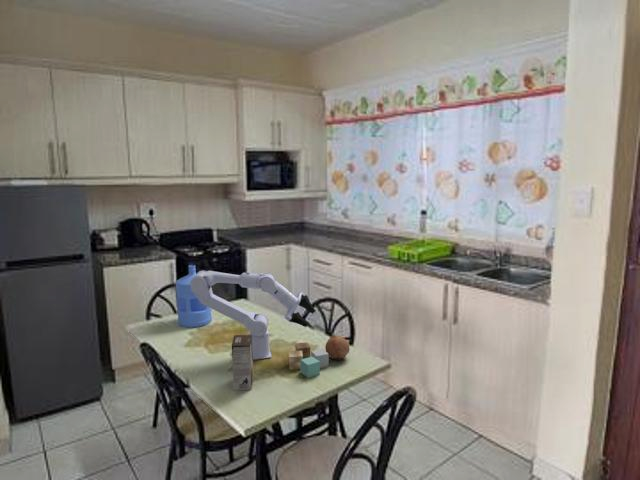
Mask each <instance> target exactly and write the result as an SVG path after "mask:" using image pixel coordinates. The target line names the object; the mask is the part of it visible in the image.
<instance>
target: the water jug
mask: <svg viewBox="0 0 640 480" xmlns="http://www.w3.org/2000/svg"><path fill="white" fill-rule="evenodd" d="M196 274H197V272H196V265H195V264H190V265H188V274H187V275H185V276H182V277H181V278H179V279H178V280H176V281H175V290H176V302H177V303H176V304H177V305H176V306H177V323H178V325H179V326H180V327H183V328H200V327H203V326H207V325H209V324H210V323H211V322H212V309H211V308H209V307H207V306H205V305H203V304H202V303H201V302H200V301H199V299H198V298H197V297H196V295H195V294H194V293H193V292H192V291H191V286H190V281H191V279H192V278H193V277H195V275H196Z"/></svg>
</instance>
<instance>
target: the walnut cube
mask: <svg viewBox="0 0 640 480" xmlns="http://www.w3.org/2000/svg"><path fill="white" fill-rule="evenodd" d="M294 345H295V347H294V351H302V354H303V359H305V358H309V357H311V345H310V344H309V342H299V343H298V342H297V343H295V344H294Z"/></svg>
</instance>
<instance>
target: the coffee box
mask: <svg viewBox="0 0 640 480" xmlns="http://www.w3.org/2000/svg"><path fill="white" fill-rule="evenodd" d="M231 359H232V362H231V363H232V365H231V366H232V387H233V391H249V390H250V391H251V390H253V383H254V360H253V353H252V335H248V334H236V335H233V339H232V343H231Z"/></svg>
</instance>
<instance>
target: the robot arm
mask: <svg viewBox="0 0 640 480" xmlns="http://www.w3.org/2000/svg"><path fill="white" fill-rule="evenodd" d="M218 283H219V284H220V283H221V284H236V285H237V284H238V285H239V286H240V287H241V288H247V289H254V290H255V289H256V290H259V289H260V290H261V291H262V292H264V293H268V294H269V295H270V296H271V297H272V298H273V299H275V300H276V301H277V302H278V303H279V304H281V305H282V306H283V307H284V308H286V309H287V312H286V315H285V317H284V319H285V320H286V321H288V322H289V323H294V324H297V325H300V326H303V327H305V328H307V327H308V326H309V325H310V323H309V322H308V321H307V320H306V319H305V318H304V317H303V316H302V315H301V314H300V312H299V311H297V312H296V310H297V308H298V306H300V307H302V308H303V309H305V310H306V311H307V312H309V313H310V314H311V315H312V314H314V313H315V312H316V311H317V310H316V309H315V308H314V306H313V304H311V301H310V298H309V296H308V295H307V294H305V293H304V292H303V291H300V292H299V293H297V296H295V295H294V294H293V293H292V292H291V291H290V290H288V289H287V288H286V287H285V286H283V285H282V284H280V283H279V281H277V280H275V277H274V276H273V275H272V274H271V273H269V272H265V273H261V272H260V273H251V271H249V270H247V271H246V272H242V273H241V274H232V273H226V272H220V271H214V270H199V271H198V272H196V275H195V277H193V278H192V279H191V281H190V286H191V291H192V292H193V293H194V294H195V295H196V297H197V298H198V299H199V301H200V302H201V303H202V304H203V305H205V306H207V307H209V308H211V310H213V311H216V312H218V313H220V314H221V315H223V316H225V317H227V318H230V319H232V320H234V321H236V322H237V323H239V324H242V325H243V326H244V328H245V330H247V331H250V333H249V334H247V335H252V353H253V361H255V360H261V359H271V358H272V357H273V356H272V353H271V350H270V331H269V329H268V324H269V319H268V317H267V316H266V314H263V313H256V312H254V311H248V310H246V309H244V308H242V307H240V306H238V305H236V304H234V303H232V302H230V301H228V300H226V299H224V298H222V297H219V296H218V295H216V294H214V293H213V288H212V287H213V286H214V285H216V284H218Z"/></svg>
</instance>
